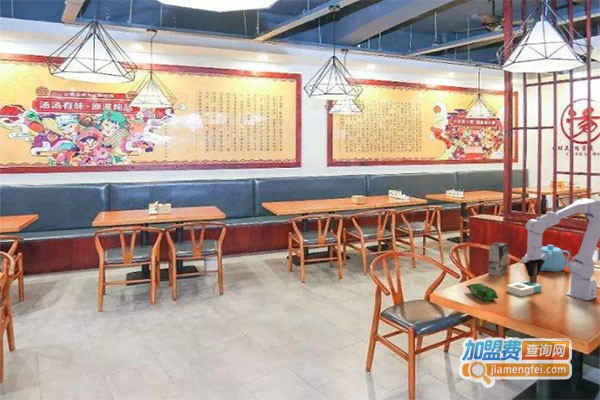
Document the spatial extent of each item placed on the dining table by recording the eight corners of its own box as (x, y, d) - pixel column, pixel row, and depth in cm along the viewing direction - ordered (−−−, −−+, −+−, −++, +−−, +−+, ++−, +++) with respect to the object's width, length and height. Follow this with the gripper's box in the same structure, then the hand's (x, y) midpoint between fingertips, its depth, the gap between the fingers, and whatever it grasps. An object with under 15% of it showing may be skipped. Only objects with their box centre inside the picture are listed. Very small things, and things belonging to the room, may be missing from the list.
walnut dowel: (538, 282, 201) (539, 263, 200) (533, 283, 200) (534, 264, 199) (532, 280, 204) (532, 261, 203) (527, 282, 203) (528, 262, 202)
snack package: (478, 290, 214) (478, 280, 213) (499, 301, 198) (499, 290, 198) (465, 292, 212) (465, 281, 212) (485, 303, 197) (485, 292, 196)
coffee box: (500, 276, 234) (500, 246, 231) (488, 273, 238) (489, 244, 236) (508, 272, 239) (509, 243, 237) (496, 270, 244) (497, 241, 242)
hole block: (541, 291, 210) (541, 285, 209) (521, 296, 204) (522, 290, 203) (525, 286, 217) (526, 280, 216) (506, 291, 211) (506, 285, 210)
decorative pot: (574, 272, 236) (575, 247, 235) (546, 274, 234) (547, 249, 232) (552, 264, 252) (553, 241, 251) (526, 266, 250) (527, 242, 248)
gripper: (536, 242, 207) (535, 271, 208) (515, 246, 200) (514, 276, 202) (551, 245, 200) (550, 274, 202) (529, 249, 194) (528, 280, 196)
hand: (533, 275), depth 202 cm, fingers closed on walnut dowel, 3 cm apart
